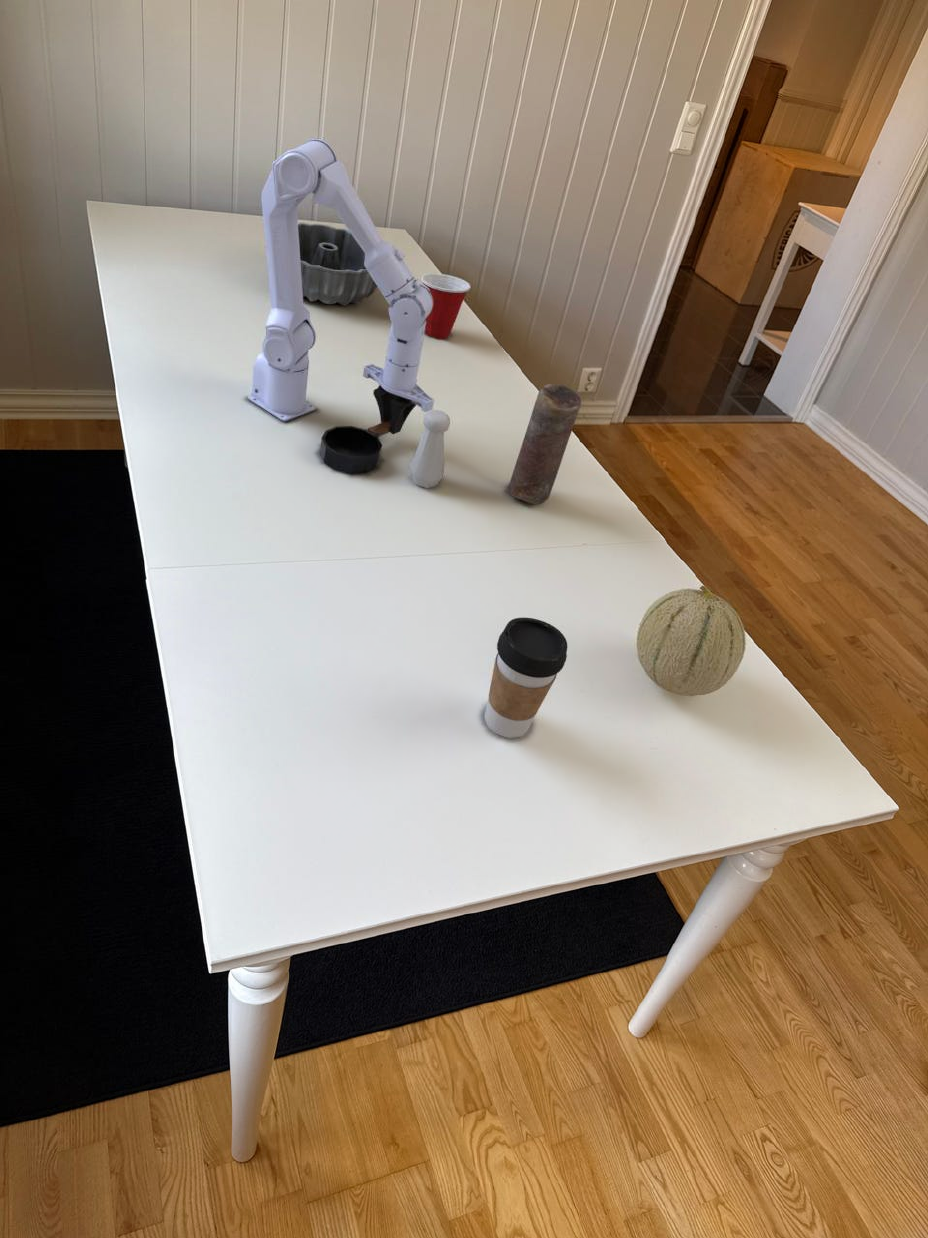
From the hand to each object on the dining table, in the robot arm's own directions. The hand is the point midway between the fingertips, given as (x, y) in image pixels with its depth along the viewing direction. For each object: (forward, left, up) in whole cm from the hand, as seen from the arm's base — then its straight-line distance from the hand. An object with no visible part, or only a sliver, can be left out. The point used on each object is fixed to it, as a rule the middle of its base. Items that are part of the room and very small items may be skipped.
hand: (391, 429), depth 157 cm
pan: (0, -7, -2) cm, 7 cm away
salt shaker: (+13, -5, -2) cm, 14 cm away
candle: (+27, +7, -2) cm, 28 cm away
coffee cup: (+55, -39, -2) cm, 67 cm away
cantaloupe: (+67, -14, -2) cm, 68 cm away
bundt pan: (-52, +37, -2) cm, 64 cm away
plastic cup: (-24, +44, -2) cm, 50 cm away
